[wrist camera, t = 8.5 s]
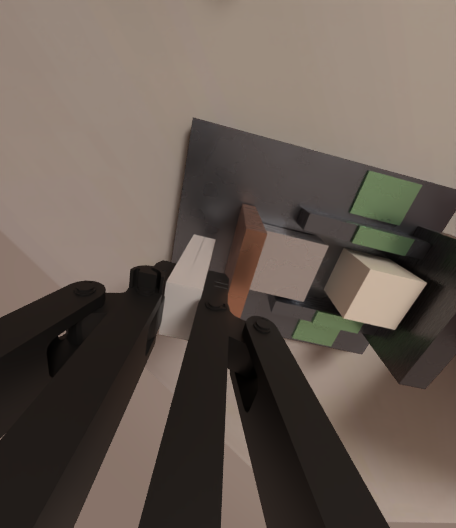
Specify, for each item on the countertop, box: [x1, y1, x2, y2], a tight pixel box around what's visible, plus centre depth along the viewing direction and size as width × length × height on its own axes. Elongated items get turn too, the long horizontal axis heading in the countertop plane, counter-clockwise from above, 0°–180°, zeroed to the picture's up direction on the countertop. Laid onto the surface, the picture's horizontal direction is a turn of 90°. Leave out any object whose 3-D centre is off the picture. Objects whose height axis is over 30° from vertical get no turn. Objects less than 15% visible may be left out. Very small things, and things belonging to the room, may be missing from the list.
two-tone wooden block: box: [224, 203, 329, 318], centre depth 15 cm, size 6×7×7 cm
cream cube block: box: [324, 248, 427, 330], centre depth 17 cm, size 4×4×4 cm
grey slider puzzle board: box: [172, 118, 456, 389], centre depth 17 cm, size 20×16×7 cm
